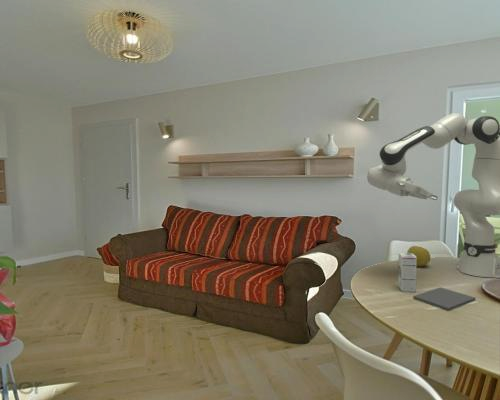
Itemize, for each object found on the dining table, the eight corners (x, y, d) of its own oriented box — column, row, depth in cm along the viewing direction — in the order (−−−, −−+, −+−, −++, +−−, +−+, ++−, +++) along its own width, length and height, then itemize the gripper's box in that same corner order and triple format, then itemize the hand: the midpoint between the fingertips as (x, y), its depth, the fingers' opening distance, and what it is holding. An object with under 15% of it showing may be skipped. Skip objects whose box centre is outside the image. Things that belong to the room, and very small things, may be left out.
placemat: (440, 289, 135) (440, 287, 135) (475, 300, 124) (475, 297, 124) (413, 298, 126) (413, 296, 126) (448, 310, 115) (448, 308, 115)
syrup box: (416, 292, 132) (417, 256, 131) (400, 291, 134) (401, 255, 132) (412, 287, 138) (413, 252, 137) (397, 286, 139) (398, 252, 138)
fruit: (429, 269, 162) (430, 249, 161) (405, 266, 168) (405, 247, 167) (430, 264, 171) (431, 245, 170) (407, 261, 177) (408, 243, 176)
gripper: (397, 175, 139) (431, 185, 130) (411, 183, 155) (442, 193, 146) (391, 189, 140) (424, 200, 131) (405, 195, 156) (436, 206, 147)
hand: (434, 196), depth 139 cm, fingers open, 8 cm apart
